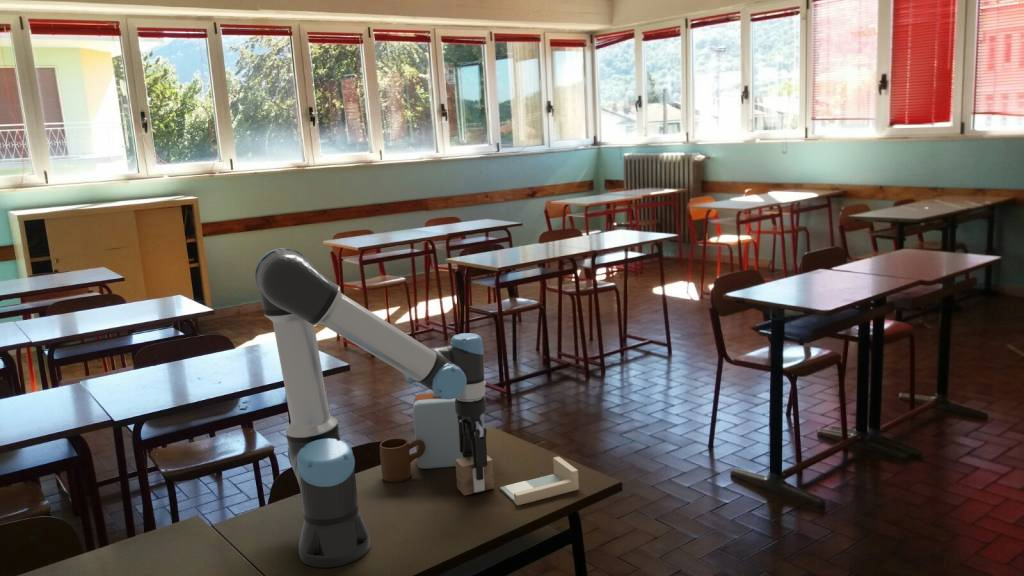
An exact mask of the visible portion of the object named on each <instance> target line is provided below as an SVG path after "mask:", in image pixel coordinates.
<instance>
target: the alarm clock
mask: <svg viewBox="0 0 1024 576" xmlns="http://www.w3.org/2000/svg"><path fill="white" fill-rule="evenodd" d="M432 392H433V393H432ZM432 392H431V393H421V394H420V393H419V394H417V395H415V397H414V401H413V406H412V412H413V413H412V415H413V426H414V436H415V438H414V440H416V439H419V440H422V441H423V442H424V444H425V451H424V453H423V454H422V456H420V457H419V458H416V460H417V461H416V462H417V465H418V468H420V469H438V468H451V467H456V463H455V460H456V459H461V458H465V457H463V455H462V454H463V453H461V452H460V443H459V424H458V418H457V415H458V414H457V413H456V411H455V399H456V398H454V399H444V398H442V397H440V396H438V395H436V394H435V392H434V391H432ZM480 420H481V422H482V428H486V426H485V413H483V414H482V415H481V416H480ZM474 436H475V435H474ZM415 447H416V448H415V449H416V451H415V452H417V451H418V450H419V445H416V446H415Z"/></svg>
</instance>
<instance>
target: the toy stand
mask: <svg viewBox="0 0 1024 576" xmlns="http://www.w3.org/2000/svg"><path fill="white" fill-rule="evenodd" d="M552 462H553V474H548V475H545V476H540V477H536V478H533V479H528V480H523V481H519V482H516V483H511V484H507V485H504V486H500V487H499V490H500V491H501V492H502V493H503V494H504V495H505V496H507V498H509V499H510V500H511V501H512V502H513V503H514V505H516V506H521V505H523V504H528V503H533V502H536V501H540V500H543V499H548V498H552V497H555V496H560V495H562V494H567V493H569V492H574V491H578V490H580V489H579V487H580V486H579V470H578V469H577V468H575V467H574V466H572V465H571V464H570V463H568V462H567V461H566V460H564V459H563V458H562V457H560V456H555V457H553V459H552Z"/></svg>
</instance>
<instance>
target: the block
mask: <svg viewBox="0 0 1024 576" xmlns="http://www.w3.org/2000/svg"><path fill="white" fill-rule="evenodd" d="M455 463H456V466H455V475H456V476H455V477H456V489H458V491H459V492H461V494H462V495H463V496H469V495H472V494H475V493H476V494H477V493H478V492H475V493H474V492H473V472H472V468H471V466H473V465H474V464H473V457H472V456H470V457H465V458H461V459H456V460H455ZM494 473H495V472H494V460H493V459H492V457H491V456H489V455H488V454H487V466H485V467H484V485H485V490H484V491H483V492H486V491H488V490H493V489H495V478H494V476H495V475H494ZM481 492H482V491H480V492H479V493H481Z"/></svg>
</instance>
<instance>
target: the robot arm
mask: <svg viewBox="0 0 1024 576" xmlns="http://www.w3.org/2000/svg"><path fill="white" fill-rule="evenodd" d="M254 278H255V283H256V285H257V287H258V289H259V290H258V291H259V295H260V300H261V306H262V310H263V315H264V316H265V317H266V318H267V319H269V320H270V321H271V322H272V324H273V330H274V337H275V341H276V347H277V352H278V357H279V362H280V363H279V364H280V369H281V374H282V379H283V384H284V390H285V396H286V401H287V407H288V412H289V419H290V424H289V425H288V426H287V427H286V429H285V435H286V441H287V447H288V448H287V450H288V451H287V457H288V461H289V464H290V467H291V468H292V470H293V473H294V475H295V477H296V479H297V483H298V485H299V489H300V490H299V492H300V497H301V505H302V506H301V507H302V515H303V525H302V529H301V533H300V538H299V542H298V553H299V558H300V561H301V562H302V563H303V564H305V565H307V566H310V567H313V568H324V569H325V568H327V569H328V568H334V567H335V568H336V567H340V566H344V565H347V564H350V563H354V562H355V561H357V560H359V559H361V558H362V557H363V556H365V555H366V554H367V553H368V551H369V550H370V548H371V537H370V532H369V530H368V528H367V526H366V524H365V521H364V520H363V517H362V516H361V513H360V510H359V500H358V489H357V480H356V470H355V463H356V460H355V456H354V454H353V449H352V447H351V446H350V445H349V444H348V443H347V442H345V441H344V440H342V439H341V433H340V427H339V423H338V419H337V418H336V417H335V416H332V415H331V414H330V410H329V404H328V398H327V391H326V386H325V380H324V374H323V369H322V363H321V359H320V358H321V357H320V351H319V345H318V339H317V334H316V328H315V326H318V325H323V326H324V327H326V328H327V329H329V330H331V331H332V332H334V333H336V334H337V335H339V336H341V337H343V338H344V339H346V340H348V342H349V341H350V342H351V343H353V344H354V345H357V346H358V347H359V348H361V349H363V350H364V351H366V352H368V354H371V355H373V356H374V357H377V358H378V359H379V360H381V361H382V362H385V363H386V364H388V365H389V366H391V367H392V368H394V369H396V370H398V371H399V372H401V373H403V376H404V378H405V380H406V381H407V382H408V383H410V384H413V383H414V384H415V383H418V384H421V385H423V386H424V387H426V388H427V389H429V390H430V391H432V392H433V391H434V392H435V394H436V395H438V396H440V397H442V398H444V399H454V398H456V399H455V411H456V413H457V414H458V415H457V418H458V424H459V443H460V452H461V453H463V454H462V455H463V457H470V456H472V457H473V464H474V465H473V466H471V468H472V472H473V492H474V493H473V494H475V492H477V493H481V492H485V491H486V490H485V485H484V467H485V466H487V455H488V452H487V451H488V450H487V449H488V448H487V428H486V427H485V428H482V422H481V420H480V416H481V415H482V414H483V413H484V414H485V413H486V411H487V399H486V385H487V381H486V380H485V359H484V358H485V356H484V355H485V351H484V343H483V339H482V336H481V335H479V334H478V333H474V332H473V333H471V332H470V333H469V332H468V333H466V332H465V333H464V332H463V333H459V334H455V335H453V336H452V337H451V341H450V344H449V345H445V346H444V345H443V346H438V347H436V346H435V347H430V348H429V347H428V346H426V345H424V344H423V343H421V342H419V340H416V339H415V338H414V337H412V336H410V335H409V334H407V333H406V332H405V331H402V330H400V329H399V328H397V327H396V326H394V325H393V324H391V323H389V322H388V321H386V320H385V319H383V318H382V317H380V316H378V315H376V314H375V313H373V312H372V311H370V310H369V309H368V308H366V307H364V306H362V305H361V304H360V303H358V302H357V301H354V300H353V299H351V298H350V297H349V296H346V295H345V294H344V293H342V291H341V287H340V285H338V284H336V283H335V282H333V281H332V280H331V279H329V278H328V277H326V276H325V275H324V274H323V273H322V272H321V271H320V270H319V269H318V268H316V266H315V265H314V264H313V263H312V262H311V261H309V260H308V259H307V257H306V256H305V255H304V254H302V253H301V252H300V251H298V250H296V249H292V248H287V247H286V248H283V247H282V248H275V249H272V250H271V251H269V252H267V253H266V254H264V255H263V256H262V257H261V258H260V260H259V262H258V263H257V266H256V269H255V272H254ZM474 435H475V436H474ZM484 490H485V491H484ZM480 491H481V492H480Z"/></svg>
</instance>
